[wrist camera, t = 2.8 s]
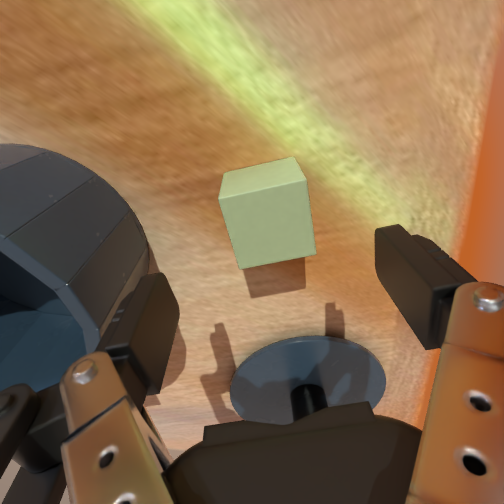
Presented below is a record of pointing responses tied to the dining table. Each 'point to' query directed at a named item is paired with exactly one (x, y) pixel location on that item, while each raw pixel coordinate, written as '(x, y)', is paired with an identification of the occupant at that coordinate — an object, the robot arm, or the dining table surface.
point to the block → (267, 213)
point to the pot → (59, 262)
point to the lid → (305, 379)
